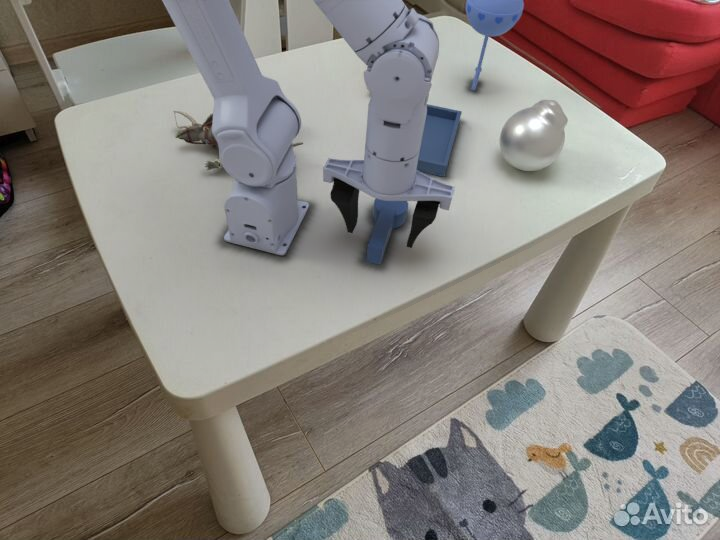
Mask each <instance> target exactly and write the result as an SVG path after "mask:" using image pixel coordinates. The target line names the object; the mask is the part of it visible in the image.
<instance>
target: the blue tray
mask: <svg viewBox="0 0 720 540" xmlns="http://www.w3.org/2000/svg"><path fill="white" fill-rule="evenodd" d="M461 116H462V110H458V109H457V110H456V109H452V108H447V107H442V106H437V105H433V104H428V103H427V114H426V119H425V125H424V131H423V136H422V142H421V147H420V152H419V158H418V163H417V169H416V170H417V171H419V172H421V173H423V174H429V175H433V176H438V177H443V178H445V177H446V172H447V168H448V166H449V165H448V164H449V162H450V158H451V154H452V151H453V146H454V143H455V139H456V135H457V132H458V128H459V124H460V121H461Z"/></svg>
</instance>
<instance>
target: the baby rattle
mask: <svg viewBox="0 0 720 540" xmlns="http://www.w3.org/2000/svg"><path fill="white" fill-rule="evenodd" d="M524 6H525V2H524V0H466V1H465V7H464V9H465V14H466V17H467V18H466V19H467V20H468V23H469V25H470V26H471V28H472V29H473V30H474V31H475V32H476V33H478V34H480V35H482V36H484V37H483V38H484V39H483V43H482V45H481V51H480V55H479V58H478V63H477V66H476V67H475V68H474V71H475V72H474V73H475V74H474V77H473V80H472V84H471V91H476V89H477V85H478V83H479V79H480V75H481V72H482V70H483V69H482V68H483V67H482V65H483V60H484V58H485V53H486V48H487V45H488V41H489V37H499V36H502V35H504V34H506V33H508V32H509V31H510V30H511V29H512V28H514V26H515V25H516V24H517V22H519V21H520V19H521V17H522V15H523V12H524Z"/></svg>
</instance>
